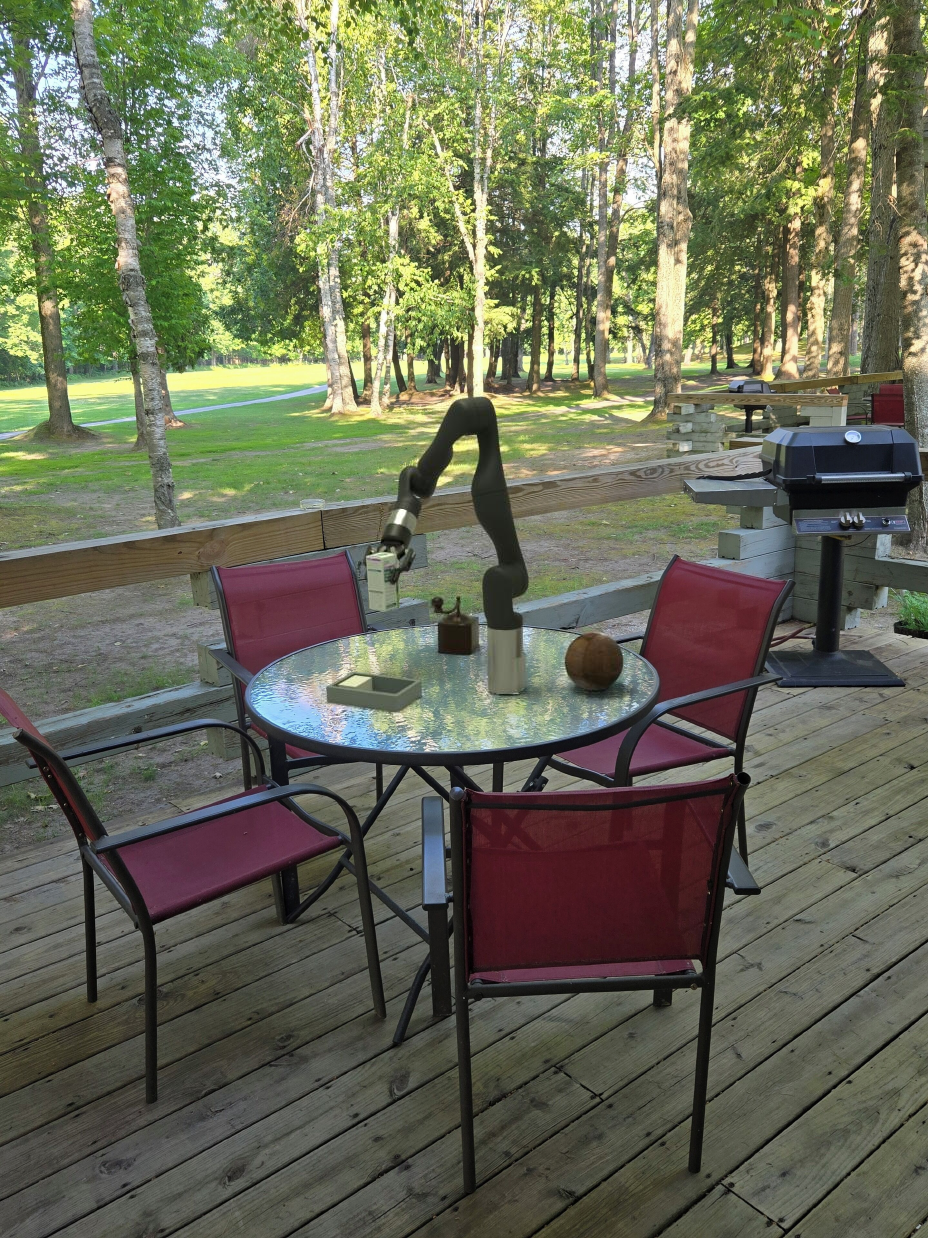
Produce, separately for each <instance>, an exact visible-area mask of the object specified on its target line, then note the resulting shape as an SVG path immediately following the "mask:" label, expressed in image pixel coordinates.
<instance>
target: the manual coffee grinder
mask: <svg viewBox="0 0 928 1238" xmlns="http://www.w3.org/2000/svg"><path fill="white" fill-rule="evenodd" d="M455 598H456V601H455V604H454V605H455V606H454V607H453V608H452V609H450V610H444V609H443V605H444V603H445V600H444V599H443V597H440V596H434V597H433V598H431V599H430V604H431V607H433V613H434V614H441V615H443V614H444V615H445V616H443V617H442V618H441V620H439V621H438V622H437V649H438V650H437V653H439V654H445V655H447V654H448V655H459V656H471V655H473V654H474V653H475V651H476V650H477V649H478V648H479V646H480V634H479V633H480V623H479V622H480V618H479V616H472V615H471V616H470V615H467V614H465V613H462V612H461V604H462V603H461V602H462V601H461V596H460V595H457V596H456V597H455ZM477 647H478V648H477ZM476 648H477V649H476ZM475 649H476V650H475ZM470 654H471V655H470Z"/></svg>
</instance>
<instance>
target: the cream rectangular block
mask: <svg viewBox="0 0 928 1238" xmlns="http://www.w3.org/2000/svg"><path fill="white" fill-rule="evenodd" d="M338 686H339V687H343V688H351V689H358V690H365V691H372V677H364V676H356V675H355V676H353V677H351V678H349V679H348V680H346V681H344V682H342V683H340V684H339V685H338Z"/></svg>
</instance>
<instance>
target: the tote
mask: <svg viewBox="0 0 928 1238" xmlns="http://www.w3.org/2000/svg"><path fill="white" fill-rule="evenodd" d="M355 675H356V676H364V677H372V691H365V690H358V689H351V688H343V687H339V686H338V685H339V684H340V683H342V682H344V681H346V680H348V679H349V678H351V677H353V676H355ZM422 683H423V682H422V680H421V679H420V680H419V679H413V678H407V677H405V678H404V677H398V676H397V677H396V676H390V675H382V674H374V673H367V672H359V671H352V672H350V673H349V674H346V675H345V676H343V677H341V678H339V679H337V680H336V681H334V682H332V683H330V684H328V685H326V686H325V689H326V692H325V693H326V702H327V703H330V704H332V703H333V704H339V705H343V706H344V705H345V706H352V707H358V708H359V707H360V708H366V709H372V710H380V711H386V712H391V713H392V712H393V713H399V712H400V711H402V710H403V709H404V708H406V707H408V706H409V705H410V704H412V703H413V702H415V701H416V700H418V699H419V698H421V697H422V696H423V689H422Z"/></svg>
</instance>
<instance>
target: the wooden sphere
mask: <svg viewBox="0 0 928 1238" xmlns="http://www.w3.org/2000/svg"><path fill="white" fill-rule="evenodd" d="M564 654H565V655H564V667H565V672H566V674H567V676H568V677H569V679H570V680H571V681H572V683H573V684H575V686H578V687H579V688H581V689H583V690H586V689H588V690H587V691H592V690H597V691H601V690H604V689H605V690H606V689H608V688H609V687H612V685H614V684H615V683H616V681H617V680H618V679H619V678H620V676H621V674H622V672H623V670H624V669H623V668H624V655H623V651H622V649H621V647H620V645H619V644H618V643H617V642H616V640H615V639H613V638H612V637H611V636H609V635H607V634H605V633H602V632H597V631H596V632H594V631H593V632H587V633H586V632H585V633H583V634H581V635H579V636H577V637H576V638H575V639H574V640H572V641H571V642H570V644H569V646H568V647H567V649H566V651H565V653H564Z"/></svg>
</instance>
